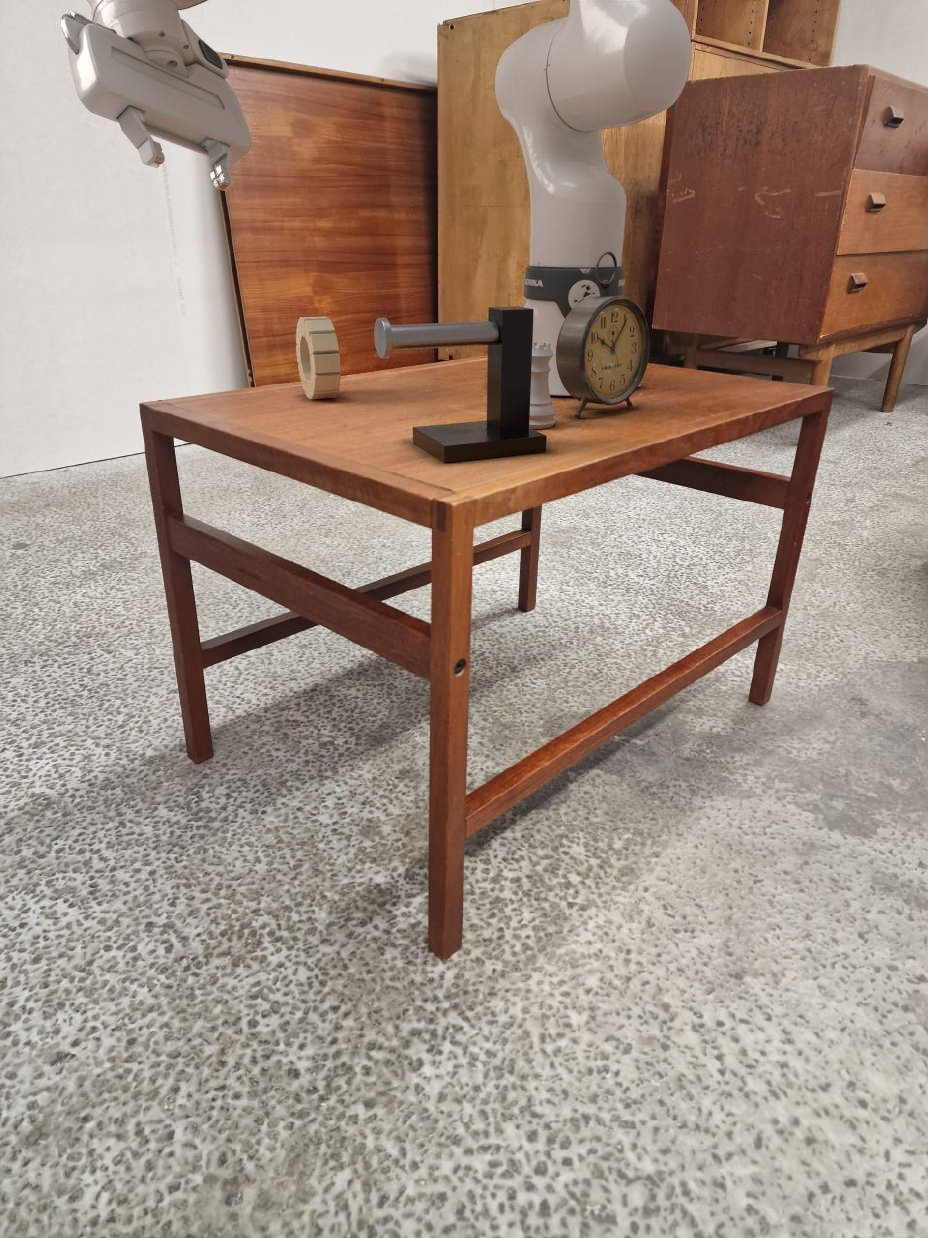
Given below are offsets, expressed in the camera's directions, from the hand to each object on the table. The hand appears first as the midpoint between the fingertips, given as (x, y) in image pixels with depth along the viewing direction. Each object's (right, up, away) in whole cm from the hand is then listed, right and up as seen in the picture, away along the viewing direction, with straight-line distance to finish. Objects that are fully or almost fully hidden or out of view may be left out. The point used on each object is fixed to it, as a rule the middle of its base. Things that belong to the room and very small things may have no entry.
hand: (191, 175), depth 84 cm
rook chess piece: (+36, -27, -1) cm, 45 cm away
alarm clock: (+43, -24, +5) cm, 50 cm away
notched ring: (+12, -20, +12) cm, 26 cm away
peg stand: (+28, -31, -11) cm, 43 cm away
